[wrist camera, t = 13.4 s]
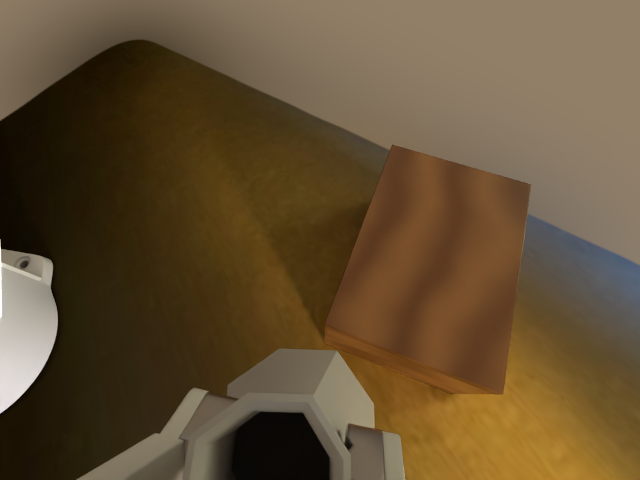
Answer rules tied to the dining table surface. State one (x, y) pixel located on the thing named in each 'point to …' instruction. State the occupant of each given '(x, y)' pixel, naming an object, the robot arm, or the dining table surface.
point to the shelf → (434, 274)
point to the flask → (283, 422)
